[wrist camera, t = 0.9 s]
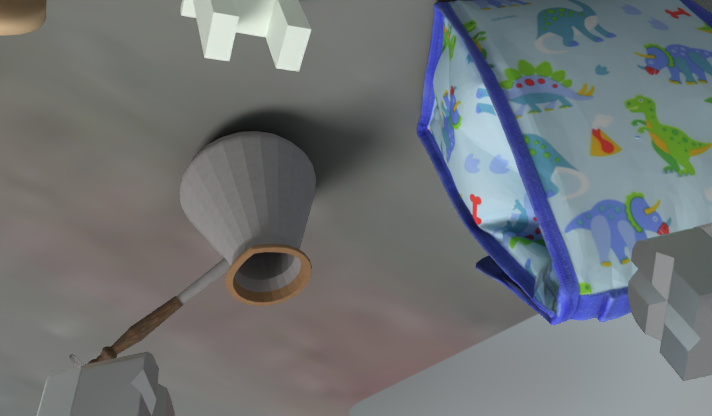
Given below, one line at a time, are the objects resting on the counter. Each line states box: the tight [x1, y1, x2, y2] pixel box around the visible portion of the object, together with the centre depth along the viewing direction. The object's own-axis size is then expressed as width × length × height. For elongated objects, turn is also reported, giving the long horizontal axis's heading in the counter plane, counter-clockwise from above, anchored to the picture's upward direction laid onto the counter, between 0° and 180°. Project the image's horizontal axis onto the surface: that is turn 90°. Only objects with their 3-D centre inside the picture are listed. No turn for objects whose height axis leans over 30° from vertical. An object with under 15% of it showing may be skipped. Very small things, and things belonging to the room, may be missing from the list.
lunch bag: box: [417, 0, 712, 325], centre depth 51 cm, size 22×17×26 cm
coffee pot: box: [69, 131, 316, 367], centre depth 54 cm, size 21×12×15 cm, turn 106°
